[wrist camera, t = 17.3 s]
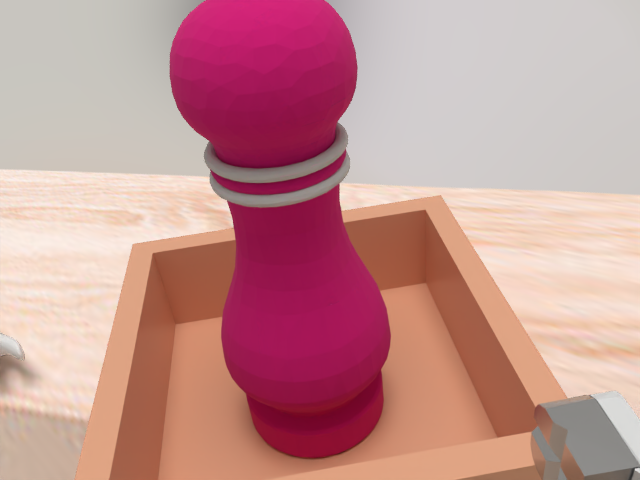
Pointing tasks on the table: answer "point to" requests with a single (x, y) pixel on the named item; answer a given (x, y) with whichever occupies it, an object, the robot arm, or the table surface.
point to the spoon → (10, 347)
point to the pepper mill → (286, 216)
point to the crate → (397, 373)
